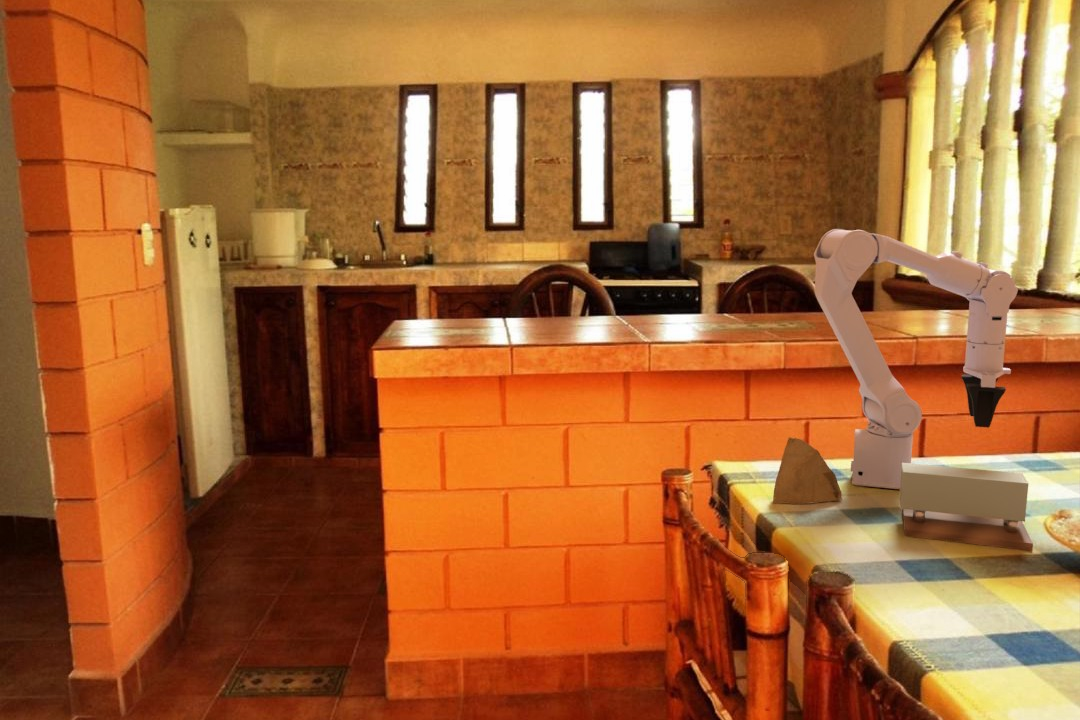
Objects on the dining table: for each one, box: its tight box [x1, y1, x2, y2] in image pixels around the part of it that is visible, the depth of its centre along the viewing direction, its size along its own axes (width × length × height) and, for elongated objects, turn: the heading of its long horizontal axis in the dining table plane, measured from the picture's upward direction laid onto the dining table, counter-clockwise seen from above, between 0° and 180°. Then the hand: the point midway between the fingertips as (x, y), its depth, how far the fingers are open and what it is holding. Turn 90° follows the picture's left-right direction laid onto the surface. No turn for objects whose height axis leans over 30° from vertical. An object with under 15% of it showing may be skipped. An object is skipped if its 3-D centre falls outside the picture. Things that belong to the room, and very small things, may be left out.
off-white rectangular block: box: [899, 462, 1029, 522], centre depth 125 cm, size 16×5×6 cm, turn 70°
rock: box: [772, 437, 843, 505], centre depth 138 cm, size 11×9×10 cm
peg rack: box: [901, 509, 1034, 551], centre depth 126 cm, size 16×11×3 cm
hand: (979, 421), depth 147 cm, fingers open, 7 cm apart
